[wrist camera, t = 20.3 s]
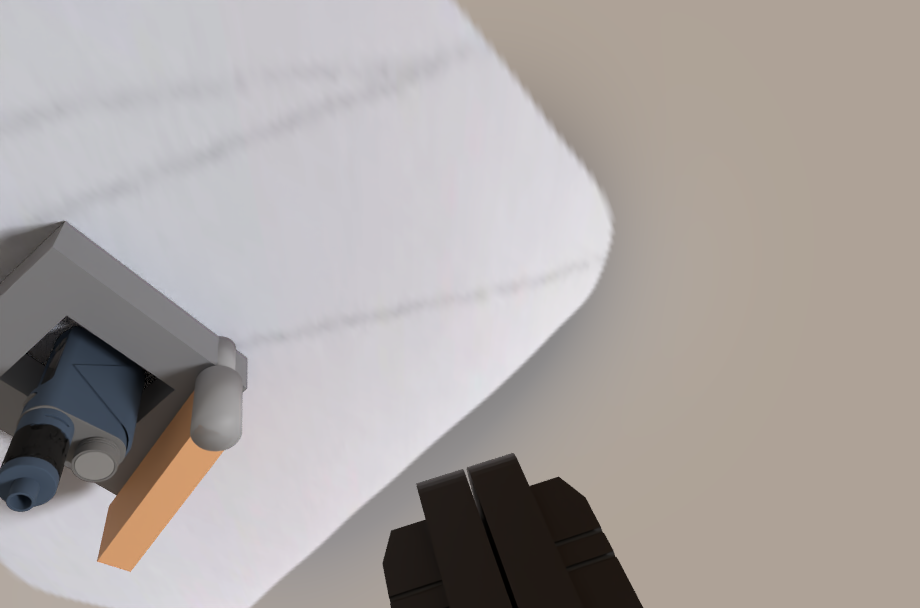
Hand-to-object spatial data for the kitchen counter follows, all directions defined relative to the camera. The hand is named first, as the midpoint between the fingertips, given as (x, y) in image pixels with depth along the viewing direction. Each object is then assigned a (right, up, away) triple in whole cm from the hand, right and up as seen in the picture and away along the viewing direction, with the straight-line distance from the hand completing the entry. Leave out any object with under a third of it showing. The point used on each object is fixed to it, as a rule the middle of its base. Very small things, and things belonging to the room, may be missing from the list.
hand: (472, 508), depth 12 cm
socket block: (-20, 0, +31) cm, 37 cm away
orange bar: (-16, -4, +31) cm, 35 cm away
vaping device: (-20, 0, +31) cm, 37 cm away
